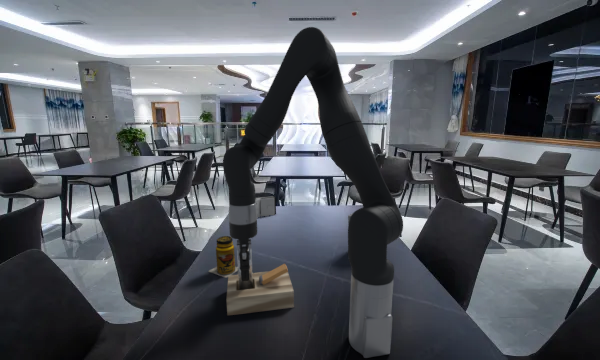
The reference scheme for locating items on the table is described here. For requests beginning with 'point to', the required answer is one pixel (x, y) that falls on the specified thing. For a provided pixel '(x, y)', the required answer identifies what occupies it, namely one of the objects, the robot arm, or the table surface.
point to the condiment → (225, 257)
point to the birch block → (259, 295)
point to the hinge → (265, 206)
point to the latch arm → (273, 274)
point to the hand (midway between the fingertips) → (245, 275)
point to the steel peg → (249, 283)
